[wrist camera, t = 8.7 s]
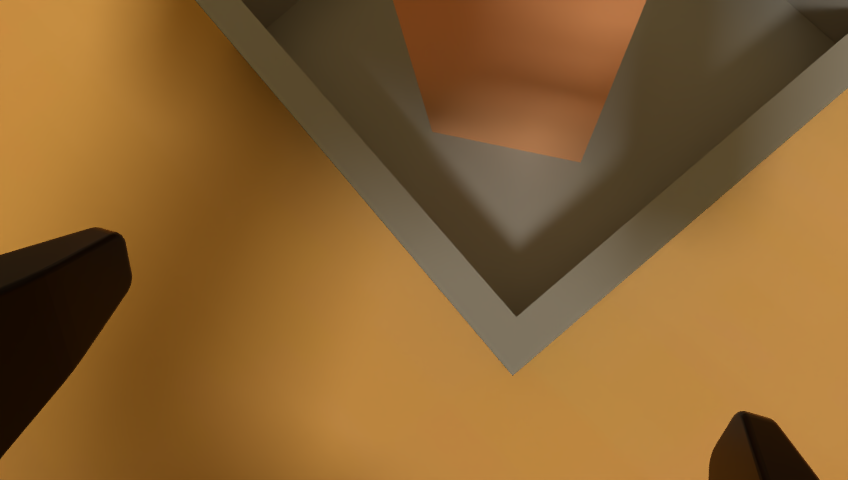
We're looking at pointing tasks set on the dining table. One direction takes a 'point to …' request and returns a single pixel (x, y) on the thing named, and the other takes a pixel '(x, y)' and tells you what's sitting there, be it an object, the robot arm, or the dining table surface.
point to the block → (517, 67)
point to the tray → (540, 174)
